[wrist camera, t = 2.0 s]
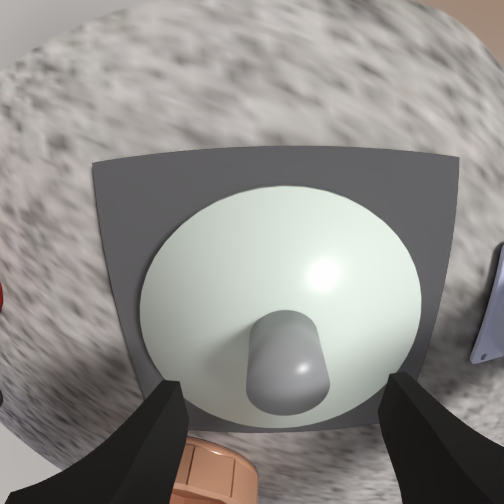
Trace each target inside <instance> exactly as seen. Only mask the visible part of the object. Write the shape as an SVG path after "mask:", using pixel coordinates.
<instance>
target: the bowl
mask: <svg viewBox="0 0 504 504" xmlns="http://www.w3.org/2000/svg"><path fill="white" fill-rule="evenodd" d="M258 492H259V489H258V471H257V469H256V467H255V466H254V465H253V464H252V463H251V462H250V461H249V460H248V459H246V458H245V457H243V456H242V455H240V454H238V453H236V452H235V451H233V450H230V449H228V448H226V447H223V446H221V445H218V444H215V443H212V442H208V441H205V440H201V439H197V438H192V437H187V438H186V444H185V448H184V451H183V455H182V459H181V462H180V466H179V469H178V473H177V476H176V480H175V483H174V487H173V490H172V494H171V499H170V504H258Z"/></svg>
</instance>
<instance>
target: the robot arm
mask: <svg viewBox="0 0 504 504" xmlns="http://www.w3.org/2000/svg"><path fill="white" fill-rule="evenodd" d="M502 356H504V245H503V246H502V249H501V254H500V259H499V264H498V268H497V273H496V277H495V281H494V285H493V289H492V292H491V296H490V300H489V303H488V307H487V310H486V313H485V316H484V319H483V323H482V326H481V329H480V331H479V334H478V337H477V340H476V343H475V345H474V348H473V351H472V353H471V356H470V361H471V362H472V363H473V364H477V363H481V362H485V361H488V360H492V359H495V358H499V357H502ZM377 412H378V417H379V422H380V427H381V431H382V436H383V439H384V442H385V445H386V448H387V451H388V454H389V456H390V459H391V462H392V465H393V468H394V471H395V474H396V477H397V480H398V484H399V487H400V491H401V497H402V503H403V504H504V447H503V446H501V445H499V444H497V443H495V442H493V441H491V440H489V439H488V438H486V437H484V436H483V435H481V434H480V433H478V432H476V431H475V430H473V429H472V428H470V427H469V426H468V425H466V424H465V423H464V422H462V421H461V420H460V419H458V418H457V417H456V416H454V415H453V414H452V413H451V412H450V411H448V410H447V409H446V408H445V407H444V406H443V405H441V404H440V403H439V402H438V401H437V400H436V399H435V398H434V397H432V396H431V395H430V394H429V393H428V392H427V391H426V390H425V389H424V388H423V387H422V386H420V385H419V384H418V383H417V382H416V381H415V380H414V379H413V378H412V377H411V376H410V375H409V374H407V373H406V372H405V371H404V372H397V373H391V374H389V377H388V381H387V384H386V387H385V390H384V394H383V397H382V400H381V403H380V406H379V409H378V411H377ZM188 424H189V416H188V412H187V408H186V405H185V401H184V397H183V393H182V389H181V385H180V381H170V380H162V381H161V382H160V383H159V384H158V385H157V387H156V388H155V389H154V390H153V391H152V392H151V394H150V395H149V396H148V397H147V398H146V400H145V401H144V402H143V403H142V404H141V405H140V406H139V407H138V409H137V410H136V411H135V412H134V413H133V414H132V415H131V416H130V417H129V418H128V419H127V420H126V421H125V422H124V423H123V424H122V425H121V426H120V427H119V428H118V429H117V430H116V431H115V432H114V433H113V434H112V435H111V436H110V437H109V438H108V439H107V440H105V441H104V442H103V443H102V444H101V445H100V446H98V447H97V448H96V449H95V450H93V451H92V452H91V453H89V454H88V455H87V456H85V457H84V458H82V459H81V460H79V461H78V462H76V463H75V464H73V465H72V466H70V467H69V468H67V469H65V470H63V471H62V472H60V473H58V474H56V475H54V476H52V477H50V478H48V479H46V480H44V481H42V482H39V483H37V484H35V485H32V486H29V487H26V488H23V489H20V490H17V491H14V492H11V493H10V494H9V496H8V498H7V500H6V502H5V504H170V499H171V494H172V490H173V487H174V483H175V480H176V476H177V473H178V469H179V466H180V462H181V459H182V455H183V451H184V448H185V444H186V438H187V432H188Z"/></svg>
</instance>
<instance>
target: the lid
mask: <svg viewBox="0 0 504 504" xmlns="http://www.w3.org/2000/svg"><path fill="white" fill-rule="evenodd" d="M420 315H421V290H420V282H419V278H418V275H417V271H416V268H415V265H414V263H413V261H412V259H411V256H410V254H409V252H408V250H407V249H406V247H405V246H404V244H403V243H402V242H401V240H400V239H399V237H398V236H397V235H396V234H395V233H394V232H393V230H392V229H391V228H390V227H389V226H388V225H387V224H386V223H385V222H384V221H382V220H381V219H380V218H378V217H377V216H376V215H374V214H373V213H372V212H370V211H369V210H368V209H366V208H365V207H363V206H361V205H360V204H358V203H356V202H354V201H352V200H350V199H348V198H346V197H344V196H341V195H339V194H336V193H333V192H330V191H327V190H324V189H319V188H313V187H308V186H300V185H272V186H261V187H256V188H252V189H248V190H243V191H239V192H236V193H234V194H231V195H229V196H226V197H224V198H221V199H218V200H217V201H215V202H213V203H211V204H210V205H208V206H206V207H204V208H202V209H201V210H199V211H198V212H197V213H195V214H194V215H193V216H191V217H190V218H189V219H188V220H186V221H185V222H184V223H183V224H182V225H181V226H180V227H179V228H178V229H177V230H176V231H175V232H174V233H173V234H172V235H171V236H170V237H169V239H168V240H167V241H166V242H165V243H164V245H163V246H162V247H161V249H160V250H159V252H158V253H157V255H156V256H155V258H154V260H153V262H152V264H151V266H150V268H149V270H148V272H147V274H146V278H145V281H144V284H143V288H142V293H141V300H140V324H141V329H142V335H143V339H144V342H145V345H146V348H147V351H148V353H149V355H150V357H151V359H152V361H153V363H154V365H155V366H156V368H157V369H158V370H159V372H160V373H161V375H162V376H163V378H164V379H165V380H170V381H180V385H181V389H182V393H183V397H184V398H185V399H186V400H188V401H189V402H191V403H192V404H194V405H195V406H197V407H198V408H200V409H202V410H204V411H206V412H208V413H210V414H212V415H214V416H217V417H219V418H222V419H224V420H228V421H231V422H234V423H238V424H242V425H247V426H253V427H262V428H289V427H299V426H305V425H310V424H314V423H318V422H322V421H325V420H328V419H331V418H333V417H336V416H339V415H341V414H343V413H345V412H347V411H349V410H351V409H353V408H355V407H357V406H358V405H360V404H361V403H363V402H365V401H366V400H367V399H369V398H370V397H371V396H373V395H374V394H375V393H376V392H378V391H379V390H380V389H381V388H382V387H383V386H384V385H385V384H386V383H387V381H388V377H389V374H391V373H396V372H397V371H398V369H399V368H400V366H401V365H402V363H403V362H404V360H405V359H406V357H407V355H408V353H409V351H410V349H411V347H412V345H413V342H414V340H415V336H416V333H417V330H418V326H419V321H420Z"/></svg>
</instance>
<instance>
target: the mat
mask: <svg viewBox="0 0 504 504" xmlns="http://www.w3.org/2000/svg"><path fill="white" fill-rule="evenodd" d="M92 165H93V175H94V185H95V193H96V201H97V209H98V216H99V222H100V229H101V235H102V241H103V246H104V252H105V257H106V262H107V267H108V272H109V276H110V281H111V286H112V290H113V294H114V298H115V302H116V307H117V310H118V314H119V318H120V322H121V326H122V329H123V333H124V336H125V340H126V343H127V347H128V350H129V353H130V356H131V360H132V363H133V366H134V369H135V372H136V375H137V378H138V381H139V384H140V387H141V390H142V392H143V395H144V398H145V400H146V398H147V397H148V396H149V395H150V394H151V392H152V391H153V390H154V389H155V388H156V387H157V385H158V384H159V383H160V382H161V381H162V380H165V379H164V378H163V376H162V375H161V373H160V372H159V370H158V369H157V368H156V366H155V365H154V363H153V361H152V359H151V357H150V355H149V353H148V351H147V348H146V345H145V342H144V339H143V335H142V329H141V324H140V300H141V293H142V288H143V284H144V281H145V278H146V274H147V272H148V270H149V268H150V266H151V264H152V262H153V260H154V258H155V256H156V255H157V253H158V252H159V250H160V249H161V247H162V246H163V245H164V243H165V242H166V241H167V240H168V239H169V237H170V236H171V235H172V234H173V233H174V232H175V231H176V230H177V229H178V228H179V227H180V226H181V225H182V224H183V223H184V222H185V221H186V220H188V219H189V218H190V217H191V216H193V215H194V214H195V213H197V212H198V211H199V210H201V209H202V208H204V207H206V206H208V205H210V204H211V203H213V202H215V201H217V200H218V199H221V198H224V197H226V196H229V195H231V194H234V193H236V192H239V191H243V190H248V189H252V188H256V187H261V186H272V185H300V186H308V187H313V188H319V189H324V190H327V191H330V192H333V193H336V194H339V195H341V196H344V197H346V198H348V199H350V200H352V201H354V202H356V203H358V204H360V205H361V206H363V207H365V208H366V209H368V210H369V211H370V212H372V213H373V214H374V215H376V216H377V217H378V218H380V219H381V220H382V221H384V222H385V223H386V224H387V225H388V226H389V227H390V228H391V229H392V230H393V232H394V233H395V234H396V235H397V236H398V237H399V239H400V240H401V242H402V243H403V244H404V246H405V247H406V249H407V250H408V252H409V254H410V256H411V259H412V261H413V263H414V265H415V268H416V271H417V275H418V278H419V282H420V290H421V315H420V321H419V326H418V330H417V333H416V336H415V340H414V342H413V345H412V347H411V349H410V351H409V353H408V355H407V357H406V359H405V360H404V362H403V363H402V365H401V366H400V368H399V369H398V371H397V372H404V371H405V372H406V373H407V374H409V375H410V376H411V377H412V378H413V379H414V380H415V381H417V378H418V375H419V372H420V369H421V367H422V364H423V361H424V358H425V354H426V351H427V348H428V345H429V342H430V338H431V335H432V331H433V328H434V324H435V321H436V317H437V313H438V309H439V305H440V301H441V297H442V292H443V288H444V283H445V278H446V273H447V268H448V263H449V257H450V251H451V245H452V238H453V231H454V223H455V215H456V205H457V193H458V179H459V157H455V156H447V155H440V154H431V153H422V152H413V151H402V150H390V149H377V148H360V147H336V146H257V147H233V148H216V149H202V150H189V151H178V152H168V153H159V154H150V155H142V156H134V157H127V158H120V159H113V160H107V161H100V162H95V163H92ZM397 372H396V373H397ZM386 384H387V383H386ZM386 384H385V385H384V386H383V387H382V388H381V389H380V390H379V391H378V392H376V393H375V394H374V395H373V396H371V397H370V398H369V399H367V400H366V401H365V402H363V403H361V404H360V405H358V406H357V407H355V408H353V409H351V410H349V411H347V412H345V413H343V414H341V415H339V416H336V417H333V418H331V419H328V420H325V421H322V422H318V423H314V424H310V425H305V426H299V427H289V428H262V427H253V426H247V425H242V424H238V423H234V422H231V421H228V420H224V419H222V418H219V417H217V416H214V415H212V414H210V413H208V412H206V411H204V410H202V409H200V408H198V407H197V406H195V405H194V404H192V403H191V402H189V401H188V400H186V399H185V398H184V401H185V405H186V408H187V412H188V416H189V424H188V429H189V430H201V431H216V432H240V433H278V432H302V431H317V430H329V429H339V428H348V427H356V426H363V425H370V424H376V423H380V422H379V417H378V412H377V411H378V409H379V406H380V403H381V400H382V397H383V394H384V390H385V387H386Z"/></svg>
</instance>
